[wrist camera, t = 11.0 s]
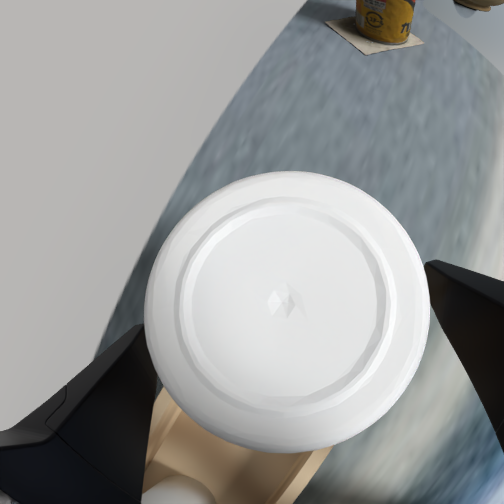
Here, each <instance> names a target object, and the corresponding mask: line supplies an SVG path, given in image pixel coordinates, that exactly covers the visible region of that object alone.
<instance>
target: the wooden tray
mask: <svg viewBox="0 0 504 504" xmlns="http://www.w3.org/2000/svg"><path fill="white" fill-rule="evenodd" d="M333 446H334V445H332V446H330V447H326V448H323V449H319V450H314V451H307V452H299V453H291V454H289V453H266V452H261V451H256V450H251V449H247V448H244V447H241V446H238V445H235V444H232V443H230V442H227V441H225V440H223V439H222V438H220V437H217V436H215V435H213V434H211V433H210V432H208V431H206V430H205V429H204V428H202V427H201V426H200V425H199V424H197V423H196V422H195V421H194V420H192V419H191V418H190V417H189V416H188V415H187V414H186V413H185V412H184V411H183V410H182V409H181V408H180V407H179V406H178V405H177V404H176V402H175V401H174V400H173V399H172V397H171V396H170V395H169V393H168V392H167V390H166V389H165V387H163V388H162V390H161V392H160V394H159V395H158V397H157V399H156V401H155V403H154V407H153V413H152V420H151V426H150V433H149V440H148V448H147V455H146V463H145V472H144V481H143V490H142V494H144V493H145V492H146V491H148V490H149V489H151V488H152V487H153V486H155V485H156V484H157V483H159V482H160V481H161V480H163V479H164V478H166V477H169V476H173V475H183V476H188V477H191V478H193V479H196V480H198V481H199V482H201V483H202V484H203V485H205V486H206V487H207V488H208V489H209V490H210V492H211V493H212V494H213V496H214V499H215V501H216V504H292V503H293V502H294V501H295V499H296V498H297V497H298V496H299V494H300V493H301V492H302V490H303V489H304V488H305V486H306V485H307V484H308V482H309V481H310V479H311V478H312V477H313V475H314V474H315V472H316V471H317V470H318V468H319V467H320V465H321V464H322V462H323V461H324V459H325V458H326V456H327V455H328V453H329V452H330V450H331V449H332V447H333Z"/></svg>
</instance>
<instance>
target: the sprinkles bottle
mask: <svg viewBox="0 0 504 504" xmlns="http://www.w3.org/2000/svg"><path fill="white" fill-rule="evenodd" d="M429 322H430V296H429V290H428V284H427V278H426V274H425V271H424V267H423V264H422V262H421V259H420V256H419V254H418V252H417V250H416V248H415V246H414V244H413V242H412V241H411V239H410V237H409V236H408V234H407V233H406V231H405V230H404V228H403V227H402V226H401V225H400V223H399V222H398V221H397V220H396V218H395V217H394V216H393V215H392V214H391V213H390V212H389V211H388V210H387V209H386V208H385V207H384V206H382V205H381V204H380V203H379V202H378V201H377V200H375V199H374V198H372V197H371V196H370V195H368V194H367V193H365V192H364V191H362V190H360V189H358V188H356V187H355V186H353V185H351V184H349V183H346V182H343V181H341V180H338V179H335V178H332V177H329V176H325V175H321V174H316V173H311V172H302V171H278V172H270V173H264V174H259V175H254V176H250V177H247V178H244V179H241V180H238V181H235V182H233V183H231V184H229V185H227V186H225V187H223V188H221V189H219V190H217V191H215V192H213V193H212V194H210V195H209V196H208V197H206V198H205V199H203V200H202V201H201V202H199V203H198V204H197V205H195V206H194V207H193V208H192V209H191V210H190V211H189V212H188V213H187V214H186V215H185V216H184V217H183V218H182V219H181V220H180V221H179V222H178V224H177V225H176V226H175V227H174V229H173V230H172V231H171V233H170V234H169V236H168V237H167V239H166V240H165V242H164V243H163V245H162V247H161V249H160V251H159V253H158V255H157V257H156V259H155V262H154V264H153V267H152V270H151V273H150V276H149V280H148V284H147V289H146V295H145V303H144V326H145V335H146V342H147V347H148V350H149V353H150V356H151V359H152V362H153V365H154V368H155V370H156V372H157V374H158V376H159V378H160V380H161V382H162V384H163V385H164V387H165V389H166V390H167V392H168V393H169V395H170V396H171V397H172V399H173V400H174V401H175V402H176V404H177V405H178V406H179V407H180V408H181V409H182V410H183V411H184V412H185V413H186V414H187V415H188V416H189V417H190V418H191V419H192V420H194V421H195V422H196V423H197V424H199V425H200V426H201V427H202V428H204V429H205V430H206V431H208V432H210V433H211V434H213V435H215V436H217V437H220V438H222V439H223V440H225V441H227V442H230V443H232V444H235V445H238V446H241V447H244V448H247V449H251V450H256V451H261V452H266V453H289V454H291V453H299V452H307V451H314V450H319V449H323V448H326V447H330V446H332V445H335V444H338V443H340V442H343V441H345V440H347V439H349V438H351V437H353V436H355V435H356V434H358V433H360V432H361V431H363V430H364V429H366V428H367V427H369V426H370V425H372V424H373V423H374V422H376V421H377V420H378V419H379V418H381V417H382V416H383V415H384V414H385V413H386V412H387V411H388V410H389V409H390V408H391V407H392V406H393V405H394V404H395V402H396V401H397V400H398V399H399V397H400V396H401V395H402V394H403V392H404V391H405V389H406V388H407V386H408V384H409V383H410V381H411V380H412V378H413V376H414V374H415V372H416V370H417V368H418V366H419V363H420V360H421V358H422V355H423V352H424V349H425V345H426V341H427V336H428V331H429Z"/></svg>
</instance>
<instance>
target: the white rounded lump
mask: <svg viewBox="0 0 504 504" xmlns="http://www.w3.org/2000/svg"><path fill="white" fill-rule="evenodd" d="M141 504H216V501H215V499H214V496H213V494H212V493H211V492H210V490H209V489H208V488H207V487H206V486H205V485H203V484H202V483H201V482H199V481H198V480H196V479H193V478H191V477H188V476H183V475H173V476H169V477H166V478H164V479H163V480H161V481H160V482H159V483H157V484H156V485H155V486H153V487H152V488H151V489H149V490H148V491H146V492H145V493H144V494H142V500H141Z"/></svg>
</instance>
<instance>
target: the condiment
mask: <svg viewBox="0 0 504 504" xmlns="http://www.w3.org/2000/svg"><path fill="white" fill-rule="evenodd" d="M414 6H415V0H356V17H348V18H343V19H339V20H331V21H326V22H325V23H327V24H328V25H329V26H330V27H331V28H333V29H334V30H335V31H337V32H338V33H339V34H340V35H341V36H342V37H344V38H345V39H346V40H347V41H348V42H350V43H352V44H353V45H354V46H355V47H356V48H357V49H359V50H361V51H362V52H363V53H364V54H365V55H369V54H372V53H378V52H381V51H386V50H392V49H398V48H404V47H409V46H415V45H420V44H423V43H424V42H422V41H421V40H420V39H419V38H417V37H416V36H415V35H413V34H411V33H410V29H411V24H412V17H413V13H414ZM366 41H369V42H366ZM371 42H373V43H371Z"/></svg>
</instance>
